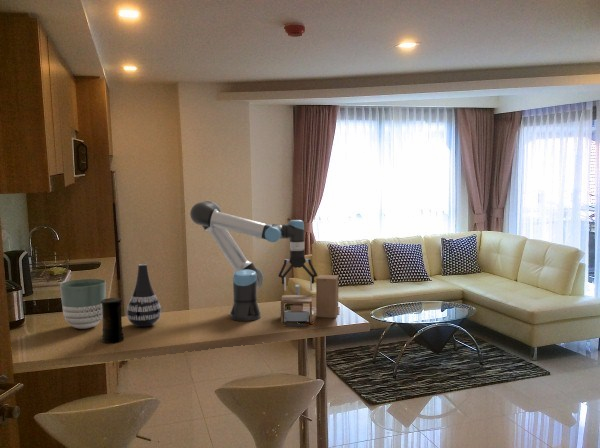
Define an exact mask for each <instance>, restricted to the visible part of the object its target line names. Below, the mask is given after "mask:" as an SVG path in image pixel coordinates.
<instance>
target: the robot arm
mask: <svg viewBox="0 0 600 448" xmlns="http://www.w3.org/2000/svg"><path fill="white" fill-rule="evenodd" d="M189 212H190V213H189V216H190V218H191V221H192V222H193V223H195V224H196V225H199V226H201V227H202V228H203V230H204V232H209V234H210V235H211V236H212V238H213V240H214V242H215V243H216V244H217V246H218V247H219V249H220V250H221V252H222V253H223V255H224V256H225V258H226V259H227V261H228V263H229V264H230V266H231V267H232V269H233V275H232V276H233V278H232V281H233V282H232V283H233V284H232V285H233V287H232V288H233V303H232V307H231V310H230V319H231V320H232V321H237V322H238V321H239V322H250V321H255V320H256V321H257V320H258V319H260V318H261V311H260V308H259V305H258V298H257V296H258V293H257V292H258V289H260V287H261V286H262V285H263V281H264V276H263V272H262V271H261V270H260V269H259V268H257V267H256V266H255V265H254V263H253V262H252V261H251V260H250V261H249V260H248V259H247V257H246V256H245V254H244V253H243V251H242V249H241V248H240V246H239V245H238V243H237V242H236V240H235V239H234V238H233V236H232V235H231V233H230V231H232V232H235V233H236V232H237V233H240V234H244V235H247V236H250V237H251V236H252V237H255V238H260V239H263V240H267V241H268V242H269V243H276V242H278V241H279V240H280V239H289V249H290V250H289V253H290V254H289V259H288V258H285V259H284V261H283V264H282V267H281V269H280V271H279V273H278V277H279V278H281V285H283V287H284V288H283V289H284V291H285V292H286V291H287V280H286V276H287V274H289V272H290V271H291V270H292V269H293V268H294V269H296V268H299V269H300V268H303V270H305V272H306V273H307V274H308V275H309V276H310V278H309V282H310V284H309V285H310V286H309V287H310V288H309V289H310V291H313V289H312V288H313V285H312V284H314V283H315V278H317V277H318V273H317V271H316V269H315V268H314V266H313V263H312V261H311V259H312V258H305V257H306V256H305V254H306V253H305V251H306V250H305V223H304V221H303V220H301V219H291V220H289V223H279V224H278V223H272V224H269V223H262V222H260V221H256V220H253V219H252V220H251V219H249V218H244V217H240V216H237V215H232V214H229V213H225V212H222V211H221V208H220V207H219V205H218V204H216V202H213V201H203V202H202V201H201V202H197V203H196V204H194V205H193V206H192V207H191V209H190V211H189ZM288 263H290V266H289V267H288V268H287V269H286V270H285V268H286V265H287V264H288ZM306 263H307V264H309V267H310V269H311V270H310V269H309V268H308V267H307V266H306V265H305V264H306ZM284 270H285V272H284ZM311 271H312V272H311ZM283 272H284V273H283Z"/></svg>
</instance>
